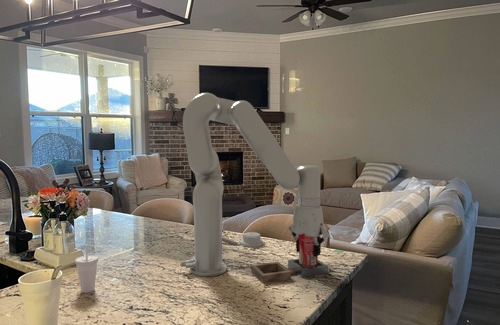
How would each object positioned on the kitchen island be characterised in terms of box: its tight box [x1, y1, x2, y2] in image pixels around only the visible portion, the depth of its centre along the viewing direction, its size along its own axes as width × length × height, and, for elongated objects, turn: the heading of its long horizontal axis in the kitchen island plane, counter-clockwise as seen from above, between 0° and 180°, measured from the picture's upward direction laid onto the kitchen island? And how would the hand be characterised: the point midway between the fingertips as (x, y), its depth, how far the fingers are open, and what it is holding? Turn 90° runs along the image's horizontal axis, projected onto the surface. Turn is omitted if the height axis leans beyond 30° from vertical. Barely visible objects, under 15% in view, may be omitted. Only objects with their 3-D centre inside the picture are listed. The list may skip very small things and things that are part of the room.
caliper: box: [222, 236, 241, 247], centre depth 160 cm, size 20×1×6 cm, turn 67°
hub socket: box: [286, 258, 329, 278], centre depth 128 cm, size 14×10×2 cm
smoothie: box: [74, 244, 99, 294], centre depth 111 cm, size 6×6×14 cm
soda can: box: [298, 233, 319, 268], centre depth 128 cm, size 6×6×12 cm
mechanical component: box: [239, 231, 264, 248], centre depth 159 cm, size 10×4×10 cm
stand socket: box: [250, 261, 292, 284], centre depth 124 cm, size 10×10×2 cm
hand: (308, 253), depth 128 cm, fingers closed on soda can, 6 cm apart
